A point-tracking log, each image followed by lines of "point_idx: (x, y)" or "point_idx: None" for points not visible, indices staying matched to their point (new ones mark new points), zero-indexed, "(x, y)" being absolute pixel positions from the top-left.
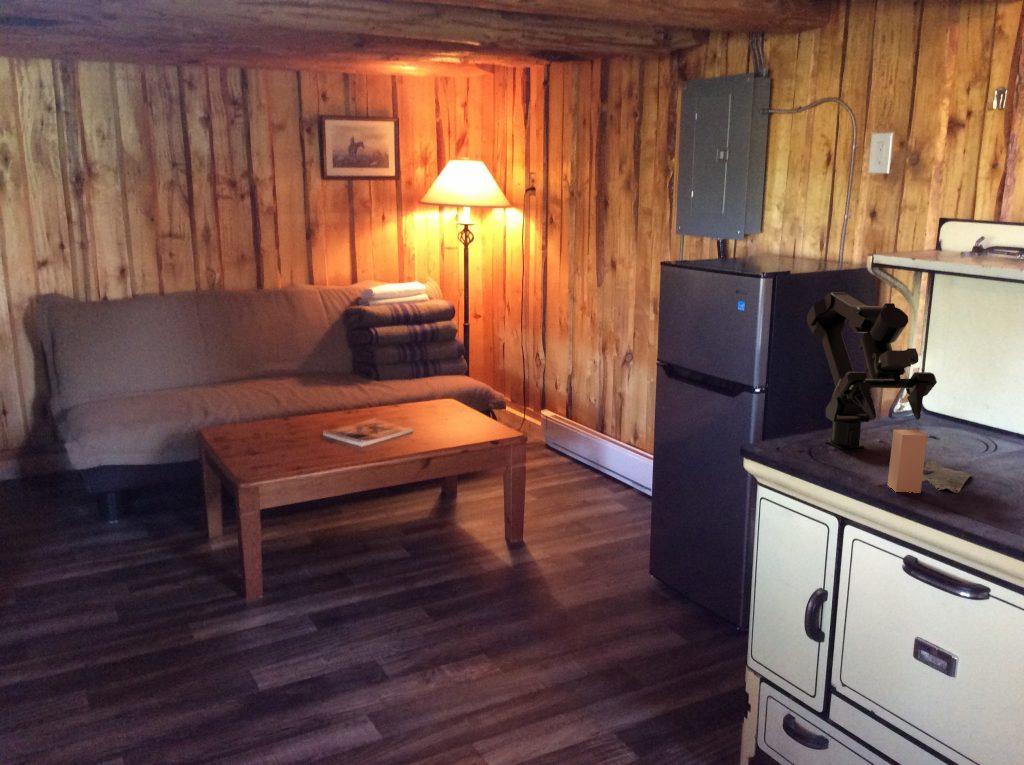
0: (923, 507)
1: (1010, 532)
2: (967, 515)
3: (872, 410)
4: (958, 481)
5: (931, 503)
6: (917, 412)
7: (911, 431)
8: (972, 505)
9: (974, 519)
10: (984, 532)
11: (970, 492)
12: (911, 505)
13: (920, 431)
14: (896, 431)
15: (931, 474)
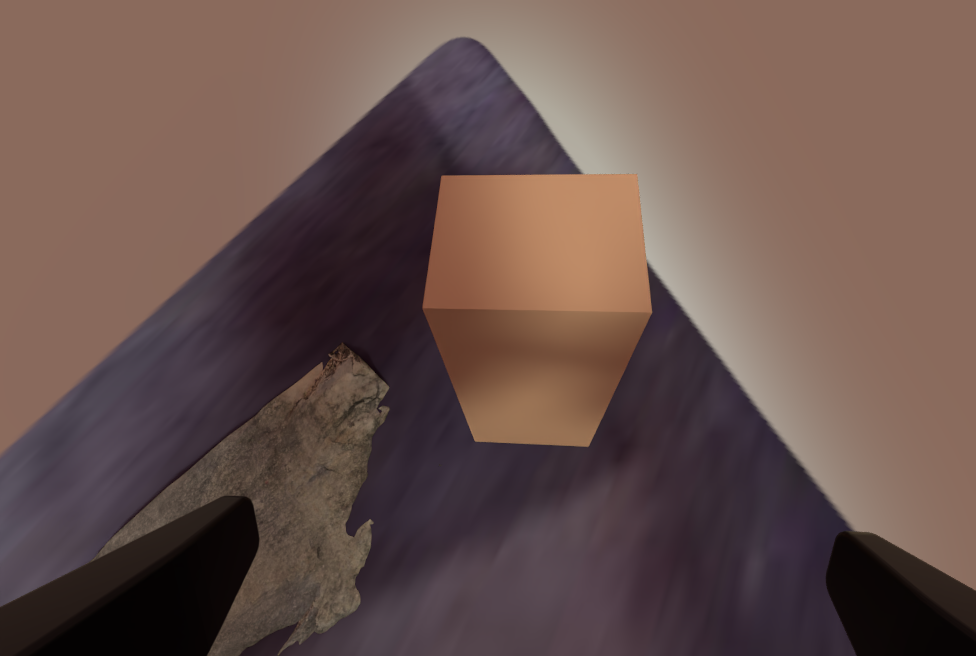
0: None
1: (409, 84)
2: (445, 172)
3: (973, 600)
4: (236, 460)
5: None
6: (206, 533)
7: (514, 257)
8: (369, 242)
9: (445, 148)
10: (477, 82)
11: (274, 362)
12: None
13: (436, 257)
14: (646, 262)
15: (270, 607)
